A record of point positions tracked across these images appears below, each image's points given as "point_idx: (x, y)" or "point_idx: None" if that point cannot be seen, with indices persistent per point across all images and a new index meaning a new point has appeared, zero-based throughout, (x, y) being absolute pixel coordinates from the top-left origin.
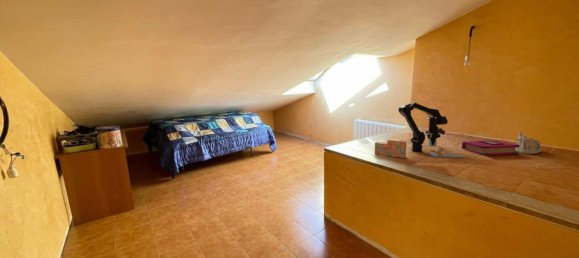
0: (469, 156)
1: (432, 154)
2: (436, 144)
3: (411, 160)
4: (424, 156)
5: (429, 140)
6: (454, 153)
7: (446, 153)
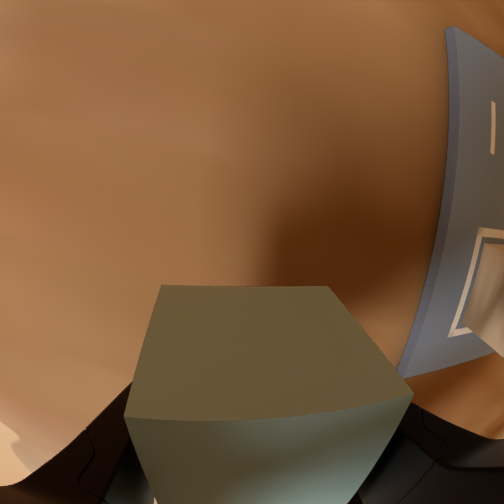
0: (495, 5)
1: (482, 345)
2: (347, 312)
3: (493, 428)
4: (473, 391)
5: (327, 502)
6: (479, 82)
7: (484, 184)
